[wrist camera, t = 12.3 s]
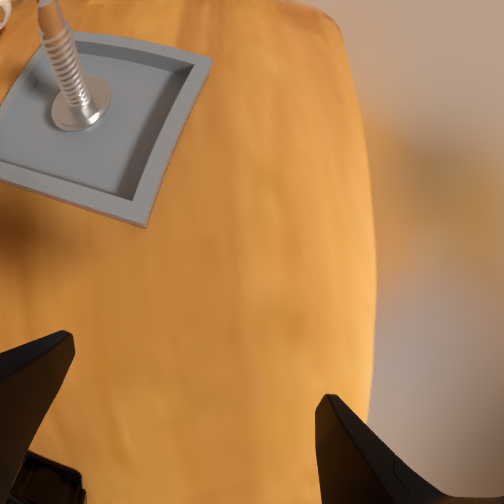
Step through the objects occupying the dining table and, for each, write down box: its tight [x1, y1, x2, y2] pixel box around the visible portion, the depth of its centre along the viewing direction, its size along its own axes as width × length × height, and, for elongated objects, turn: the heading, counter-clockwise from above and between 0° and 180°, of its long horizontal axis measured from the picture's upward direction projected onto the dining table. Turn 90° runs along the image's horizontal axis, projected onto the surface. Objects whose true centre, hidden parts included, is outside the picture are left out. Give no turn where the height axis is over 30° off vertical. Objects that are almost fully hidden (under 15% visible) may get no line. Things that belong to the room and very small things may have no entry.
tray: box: [0, 31, 214, 229], centre depth 17 cm, size 16×14×2 cm
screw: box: [36, 0, 111, 132], centre depth 11 cm, size 13×5×5 cm
